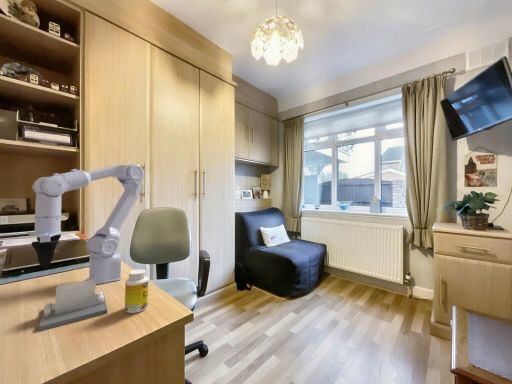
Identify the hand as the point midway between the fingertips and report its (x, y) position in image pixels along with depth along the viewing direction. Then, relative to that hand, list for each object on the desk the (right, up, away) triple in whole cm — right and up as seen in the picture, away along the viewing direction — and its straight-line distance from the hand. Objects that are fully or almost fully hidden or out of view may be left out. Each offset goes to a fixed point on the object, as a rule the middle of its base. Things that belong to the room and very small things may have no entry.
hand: (46, 262), depth 67 cm
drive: (+15, -10, -7) cm, 19 cm away
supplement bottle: (+30, -11, -6) cm, 32 cm away
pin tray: (+15, -11, -7) cm, 20 cm away
